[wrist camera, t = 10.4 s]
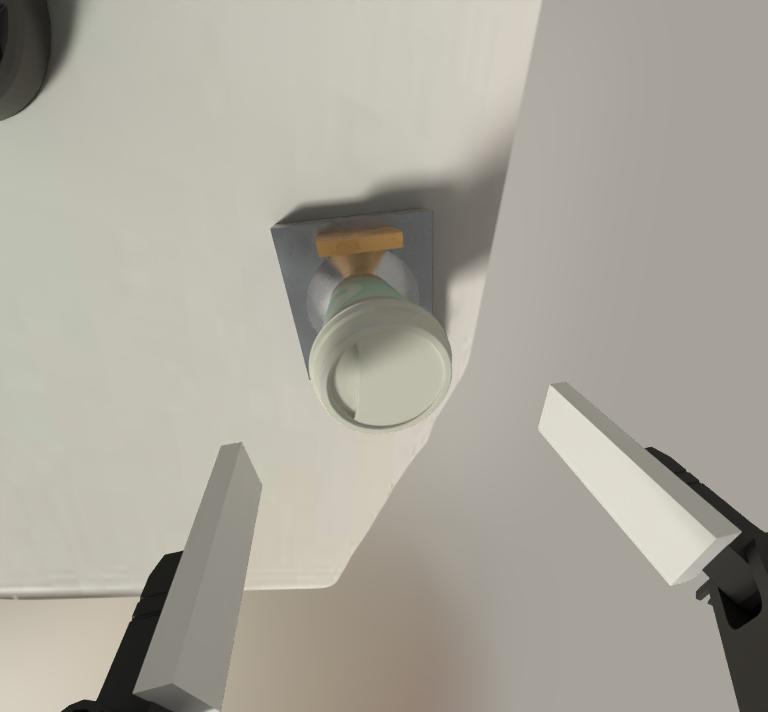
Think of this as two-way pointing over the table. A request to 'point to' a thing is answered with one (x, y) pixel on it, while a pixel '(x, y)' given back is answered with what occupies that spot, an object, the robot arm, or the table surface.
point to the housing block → (353, 261)
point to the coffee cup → (379, 358)
